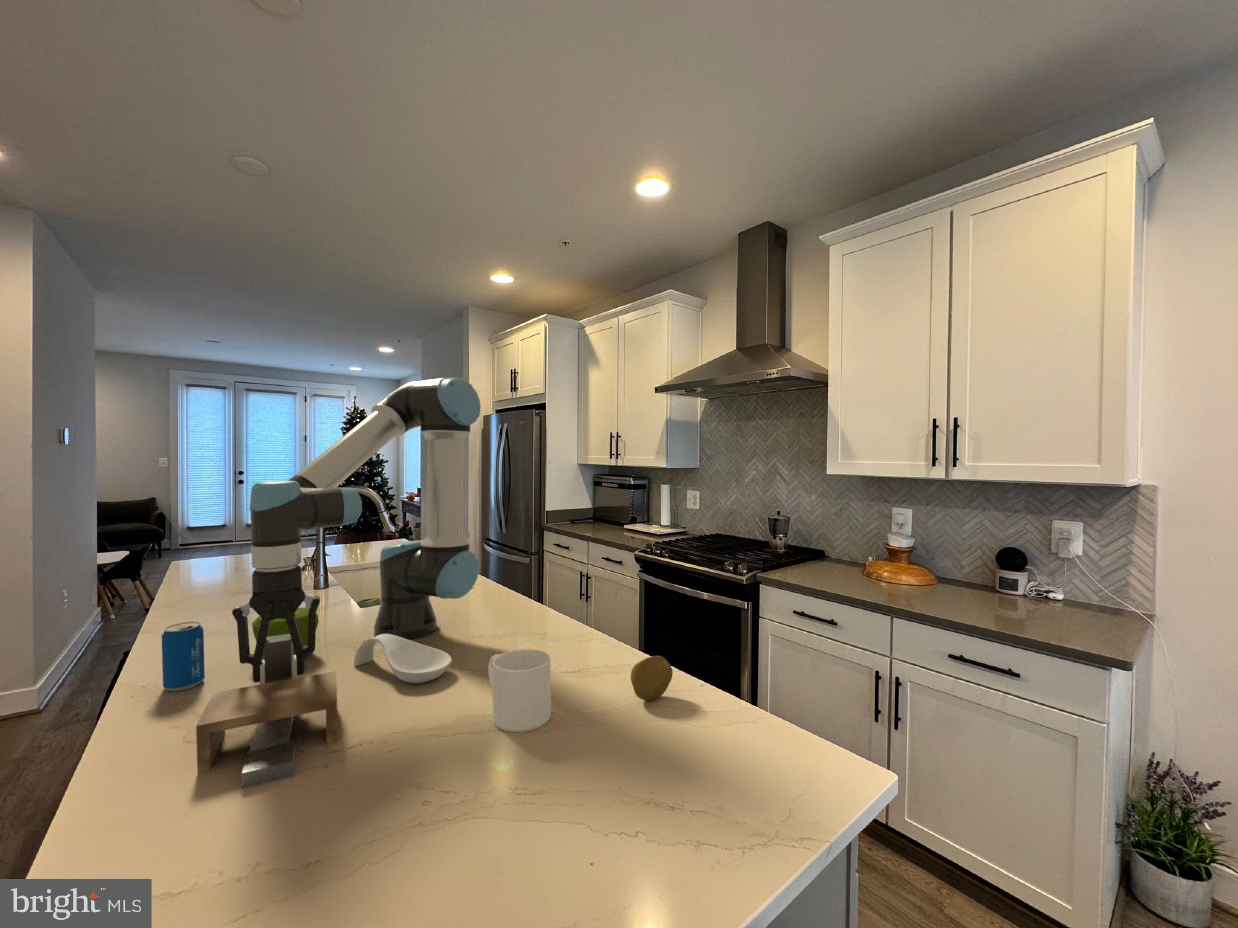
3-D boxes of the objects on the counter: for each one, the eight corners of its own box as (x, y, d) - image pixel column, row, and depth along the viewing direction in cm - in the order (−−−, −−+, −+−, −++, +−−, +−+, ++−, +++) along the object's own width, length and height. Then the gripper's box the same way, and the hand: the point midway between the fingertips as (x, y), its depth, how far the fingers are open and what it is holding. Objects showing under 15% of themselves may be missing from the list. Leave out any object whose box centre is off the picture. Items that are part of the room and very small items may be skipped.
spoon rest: (463, 672, 113) (463, 638, 113) (421, 695, 102) (421, 658, 102) (383, 654, 123) (382, 624, 123) (337, 674, 112) (336, 640, 112)
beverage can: (181, 693, 103) (179, 632, 102) (154, 691, 104) (152, 630, 104) (212, 679, 109) (211, 621, 109) (187, 677, 110) (185, 619, 110)
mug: (562, 713, 95) (562, 656, 94) (523, 739, 86) (522, 676, 86) (511, 695, 101) (510, 642, 101) (470, 718, 93) (469, 660, 93)
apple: (257, 673, 112) (256, 620, 112) (249, 656, 121) (248, 607, 121) (323, 658, 120) (323, 608, 120) (311, 643, 130) (310, 597, 129)
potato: (626, 705, 97) (626, 662, 97) (639, 687, 105) (639, 647, 104) (663, 711, 95) (663, 667, 95) (673, 693, 102) (673, 651, 102)
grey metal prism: (296, 696, 99) (295, 632, 99) (288, 748, 82) (286, 670, 81) (264, 702, 97) (263, 637, 97) (248, 757, 79) (247, 677, 79)
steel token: (295, 756, 82) (295, 740, 82) (292, 778, 77) (292, 761, 77) (248, 767, 79) (248, 751, 79) (242, 790, 74) (241, 773, 74)
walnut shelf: (337, 708, 96) (336, 670, 96) (337, 740, 86) (336, 697, 86) (214, 734, 88) (212, 692, 88) (197, 773, 77) (196, 725, 77)
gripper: (331, 558, 103) (333, 677, 104) (222, 568, 95) (225, 697, 96) (330, 565, 96) (333, 693, 97) (214, 576, 88) (217, 715, 89)
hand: (279, 694), depth 96 cm, fingers closed on grey metal prism, 4 cm apart
